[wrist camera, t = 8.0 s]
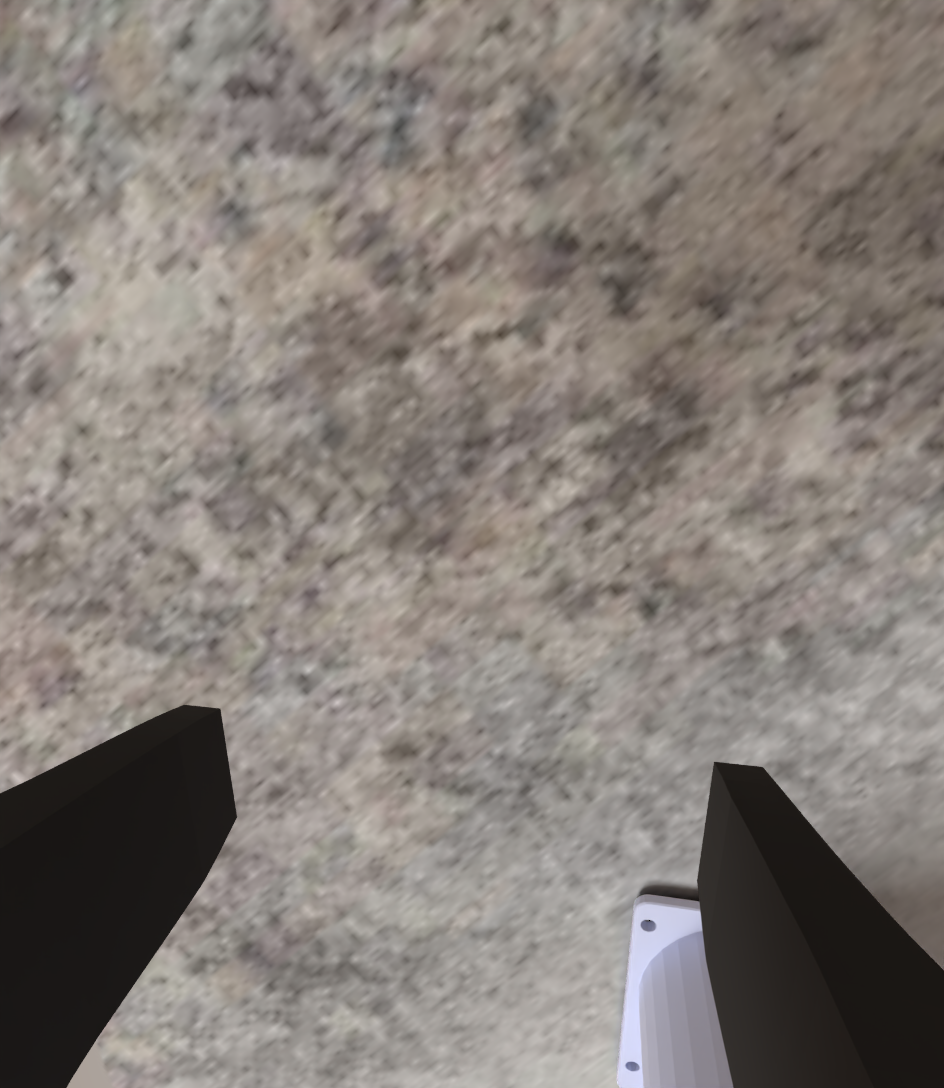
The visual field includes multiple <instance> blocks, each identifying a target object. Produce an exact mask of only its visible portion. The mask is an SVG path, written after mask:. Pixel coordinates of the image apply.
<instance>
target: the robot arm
mask: <svg viewBox="0 0 944 1088" xmlns="http://www.w3.org/2000/svg"><path fill="white" fill-rule="evenodd" d="M236 818H237V814H236V808H235V801H234V795H233V788H232V782H231V775H230V769H229V762H228V756H227V749H226V743H225V736H224V730H223V723H222V717H221V710H220V709H218V708H209V707H199V706H190V705H183V706H180V707H178V708H175V709H173V710H170V711H168V712H166V713H163V714H161V715H159V716H157V717H155V718H153V719H150V720H148V721H146V722H144V723H142V724H140V725H138V726H136V727H134V728H132V729H130V730H128V731H126V732H124V733H122V734H120V735H118V736H116V737H114V738H112V739H110V740H108V741H106V742H104V743H102V744H100V745H98V746H96V747H94V748H92V749H90V750H88V751H86V752H84V753H82V754H80V755H78V756H76V757H74V758H72V759H70V760H68V761H66V762H64V763H62V764H60V765H58V766H56V767H54V768H52V769H50V770H48V771H46V772H44V773H42V774H40V775H38V776H36V777H34V778H32V779H30V780H28V781H26V782H24V783H22V784H19V785H17V786H15V787H13V788H11V789H9V790H7V791H5V792H2V793H0V1088H66V1087H67V1086H68V1084H69V1082H70V1080H71V1079H72V1077H73V1075H74V1074H75V1072H76V1071H77V1069H78V1068H79V1066H80V1064H81V1063H82V1061H83V1060H84V1058H85V1057H86V1055H87V1053H88V1052H89V1050H90V1049H91V1047H92V1046H93V1044H94V1043H95V1041H96V1039H97V1038H98V1036H99V1035H100V1033H101V1032H102V1030H103V1029H104V1028H105V1026H106V1025H107V1023H108V1022H109V1020H110V1019H111V1017H112V1016H113V1014H114V1013H115V1012H116V1010H117V1009H118V1007H119V1006H120V1004H121V1003H122V1001H123V1000H124V998H125V997H126V996H127V994H128V993H129V991H130V990H131V988H132V987H133V985H134V984H135V982H136V981H137V979H138V978H139V977H140V975H141V974H142V972H143V971H144V969H145V968H146V966H147V965H148V963H149V962H150V961H151V959H152V958H153V956H154V955H155V953H156V952H157V950H158V949H159V947H160V946H161V945H162V943H163V942H164V940H165V939H166V937H167V936H168V934H169V933H170V931H171V930H172V928H173V927H174V925H175V924H176V923H177V921H178V920H179V918H180V917H181V915H182V914H183V912H184V911H185V909H186V908H187V906H188V905H189V903H190V902H191V900H192V899H193V897H194V896H195V894H196V893H197V891H198V890H199V888H200V887H201V885H202V884H203V882H204V880H205V878H206V877H207V875H208V873H209V871H210V869H211V867H212V865H213V864H214V862H215V860H216V858H217V856H218V854H219V852H220V850H221V848H222V846H223V844H224V842H225V840H226V838H227V836H228V834H229V832H230V830H231V828H232V826H233V824H234V822H235V820H236ZM697 883H698V893H699V901H692V900H685V899H678V898H671V897H664V896H657V895H650V894H645V895H642V896H639V897H638V898H637V899H635V902H634V907H633V917H632V927H631V937H630V946H629V956H628V966H627V976H626V986H625V995H624V1005H623V1015H622V1025H621V1035H620V1044H619V1054H618V1064H617V1084H618V1085H619V1087H620V1088H944V970H943V969H942V968H941V967H940V966H939V965H938V964H937V963H936V962H935V961H934V960H933V959H932V958H931V957H930V956H929V955H928V954H927V953H926V952H925V951H924V950H923V949H922V948H921V947H920V946H919V945H918V944H917V943H916V942H915V941H914V940H913V939H912V938H911V937H910V936H909V935H908V934H907V933H906V932H905V930H904V929H903V928H902V927H901V926H900V925H899V924H898V923H897V922H896V921H895V920H894V919H893V918H892V917H891V916H890V914H889V913H888V912H887V911H886V910H885V909H884V908H883V907H882V906H881V904H880V903H879V902H878V901H877V900H876V899H875V898H874V897H873V896H872V894H871V893H870V892H869V891H868V890H867V889H866V888H865V887H864V885H863V884H862V883H861V882H860V881H859V880H858V879H857V878H856V877H855V875H854V874H853V873H852V872H851V871H850V870H849V869H848V868H847V866H846V865H845V864H844V863H843V862H842V861H841V860H840V858H839V857H838V856H837V855H836V854H835V853H834V851H833V850H832V849H831V848H830V847H829V846H828V844H827V843H826V842H825V841H824V840H823V839H822V837H821V836H820V835H819V834H818V833H817V831H816V830H815V829H814V828H813V827H812V825H811V824H810V823H809V822H808V821H807V820H806V818H805V817H804V816H803V815H802V813H801V812H800V811H799V810H798V809H797V807H796V806H795V805H794V804H793V803H792V801H791V800H790V799H789V798H788V797H787V795H786V794H785V793H784V792H783V791H782V789H781V788H780V787H779V786H778V785H777V783H776V782H775V781H774V780H773V779H772V777H771V776H770V775H769V774H768V773H767V772H766V770H765V769H764V768H763V767H757V766H748V765H739V764H729V763H720V762H714V766H713V774H712V781H711V788H710V795H709V802H708V809H707V816H706V823H705V830H704V837H703V844H702V851H701V858H700V865H699V872H698V879H697ZM644 920H651V921H649V922H647V921H644Z"/></svg>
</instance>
